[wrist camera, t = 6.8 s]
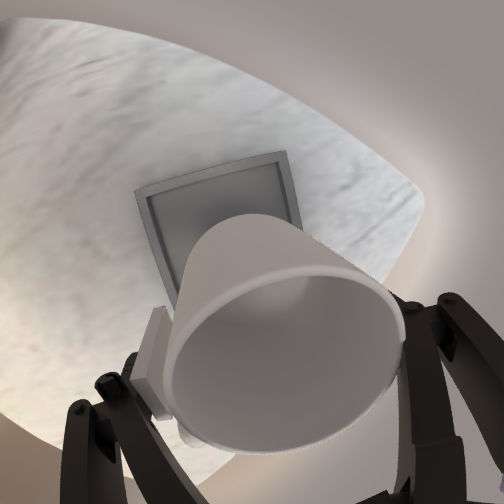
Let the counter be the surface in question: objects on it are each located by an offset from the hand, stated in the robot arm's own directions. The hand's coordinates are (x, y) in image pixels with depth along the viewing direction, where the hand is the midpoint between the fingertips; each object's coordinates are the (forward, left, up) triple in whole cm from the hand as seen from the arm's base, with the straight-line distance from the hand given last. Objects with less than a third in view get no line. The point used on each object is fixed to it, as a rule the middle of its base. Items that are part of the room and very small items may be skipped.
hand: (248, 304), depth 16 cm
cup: (0, -1, -2) cm, 2 cm away
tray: (+3, 0, -16) cm, 16 cm away
